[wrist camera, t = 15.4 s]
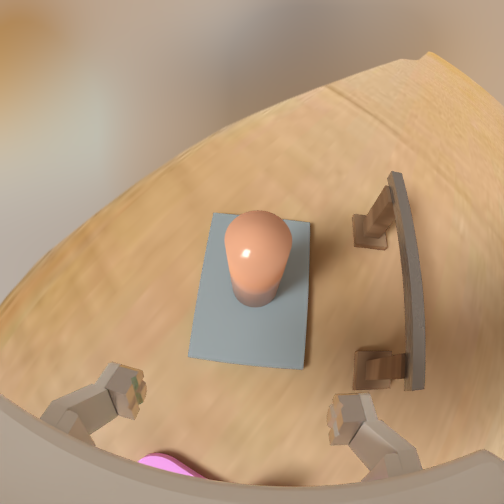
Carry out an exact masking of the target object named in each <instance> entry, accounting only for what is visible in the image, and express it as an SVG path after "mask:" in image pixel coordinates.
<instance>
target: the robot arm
mask: <svg viewBox="0 0 504 504" xmlns="http://www.w3.org/2000/svg"><path fill="white" fill-rule="evenodd" d="M143 377H144V374H143V371H142V370H139V369H135V368H132V367H128V366H125V365H122V364H118V363H115V362H110V363H109V364H108V365H107V367H106V368H105V370H104V371H103V372H102V374H101V375H100V377H99V378H98V380H97V381H96V383H95V384H90V385H88V386H86V387H83V388H81V389H79V390H77V391H74V392H72V393H70V394H67V395H65V396H63V397H61V398H58V399H56V400H53V401H52V402H51V403H50V405H49V406H48V408H47V409H46V410H45V412H44V413H43V415H42V416H41V418H40V419H39V418H37V417H36V416H34V415H32V414H31V413H29V412H27V411H26V410H24V409H23V408H21V407H20V406H18V405H16V404H15V403H13V402H12V401H11V400H9V399H8V398H6V397H5V396H3V395H2V394H1V393H0V504H504V461H503V460H502V459H501V458H499V457H498V456H496V455H495V454H493V453H491V452H489V451H487V450H485V449H482V450H478V451H476V452H473V453H471V454H468V455H466V456H463V457H460V458H458V459H455V460H452V461H449V462H446V463H443V464H440V465H437V466H433V467H430V468H427V469H422V466H421V463H420V460H419V457H418V454H417V451H416V448H415V447H414V446H412V445H411V444H410V443H409V442H407V441H406V440H405V439H404V438H402V437H401V436H400V435H399V434H398V433H396V432H395V431H394V430H393V429H391V428H390V427H389V426H388V425H387V424H385V423H384V422H383V421H382V420H378V417H377V414H376V411H375V408H374V404H373V401H372V398H371V395H370V394H369V393H358V394H357V393H348V394H335V395H334V397H333V404H332V405H330V406H329V409H328V412H327V425H328V426H329V427H330V428H331V430H330V431H329V440H330V445H348V446H349V447H350V448H351V449H352V450H353V452H354V453H355V454H356V455H357V456H358V457H359V459H360V460H361V461H362V462H363V463H364V464H365V466H366V467H367V468H368V469H369V470H370V472H369V473H368V474H367V475H366V476H365V477H364V478H363V479H362V480H361V482H358V483H349V484H339V485H326V486H263V485H249V484H239V483H231V482H223V481H216V480H210V479H204V478H199V477H193V476H188V475H184V474H179V473H175V472H171V471H167V470H163V469H159V468H156V467H152V466H149V465H145V464H142V463H139V462H136V461H133V460H130V459H127V458H124V457H121V456H118V455H115V454H113V453H110V452H107V451H105V450H102V449H100V448H97V447H95V446H96V445H95V443H94V441H93V440H92V438H91V436H90V434H92V433H93V432H95V431H96V430H98V429H99V428H101V427H102V426H104V425H105V424H107V423H108V422H110V421H111V420H113V419H114V418H116V417H117V416H118V415H119V416H122V417H125V418H129V419H132V420H135V419H136V417H137V414H138V412H139V410H140V408H139V404H141V403H143V402H144V399H145V397H146V392H147V387H146V383H145V382H144V381H143V380H142V379H143Z"/></svg>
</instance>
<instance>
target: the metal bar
mask: <svg viewBox="0 0 504 504" xmlns="http://www.w3.org/2000/svg"><path fill="white" fill-rule="evenodd" d="M387 180H388V184H389V189H390V194H391V199H392V204H393V209H394V215H395V221H396V227H397V234H398V241H399V248H400V256H401V265H402V276H403V288H404V303H405V331H406V354H405V382H404V391H414V390H422V389H424V385H425V315H424V300H423V288H422V278H421V270H420V262H419V255H418V248H417V242H416V236H415V230H414V225H413V220H412V215H411V210H410V205H409V201H408V196H407V192H406V188H405V184H404V180H403V176H402V173H398V172H393V171H391V173H390V175H389V176H388V178H387Z"/></svg>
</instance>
